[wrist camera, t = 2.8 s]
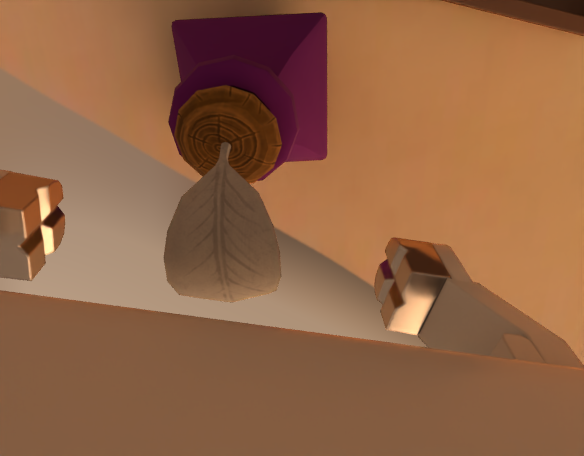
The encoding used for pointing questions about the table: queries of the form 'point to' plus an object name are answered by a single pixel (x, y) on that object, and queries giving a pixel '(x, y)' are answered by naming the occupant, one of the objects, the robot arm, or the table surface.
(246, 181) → the perfume bottle
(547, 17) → the tray
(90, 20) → the table surface
